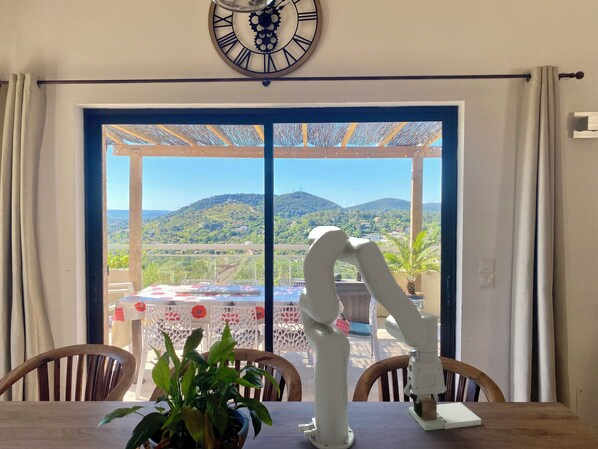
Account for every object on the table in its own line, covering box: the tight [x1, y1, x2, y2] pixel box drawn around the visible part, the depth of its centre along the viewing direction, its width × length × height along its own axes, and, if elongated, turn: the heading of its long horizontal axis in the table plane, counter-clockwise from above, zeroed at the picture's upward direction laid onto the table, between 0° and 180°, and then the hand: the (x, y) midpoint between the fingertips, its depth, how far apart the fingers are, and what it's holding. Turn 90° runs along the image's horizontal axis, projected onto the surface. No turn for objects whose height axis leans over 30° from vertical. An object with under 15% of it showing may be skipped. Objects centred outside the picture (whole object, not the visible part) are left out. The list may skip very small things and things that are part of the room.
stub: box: [407, 395, 445, 432], centre depth 105 cm, size 6×10×6 cm, turn 9°
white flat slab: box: [437, 402, 482, 430], centre depth 106 cm, size 12×10×2 cm
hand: (425, 412), depth 105 cm, fingers closed on stub, 4 cm apart
